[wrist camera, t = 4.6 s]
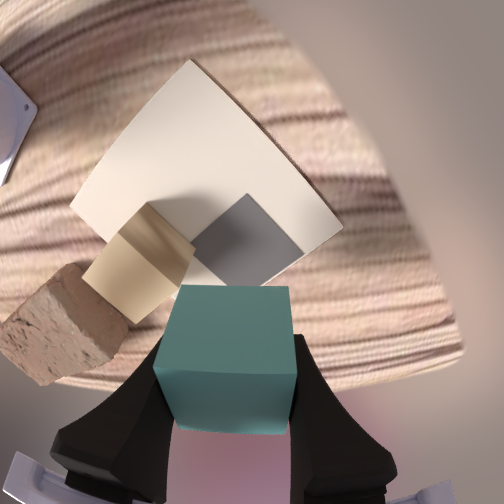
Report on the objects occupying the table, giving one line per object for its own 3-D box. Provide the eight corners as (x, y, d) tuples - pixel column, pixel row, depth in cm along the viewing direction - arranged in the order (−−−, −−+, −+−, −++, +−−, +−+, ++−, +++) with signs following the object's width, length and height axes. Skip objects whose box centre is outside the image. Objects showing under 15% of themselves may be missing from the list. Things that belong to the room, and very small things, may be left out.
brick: (72, 254, 21) (42, 289, 17) (135, 325, 25) (118, 365, 21) (8, 313, 26) (-11, 340, 22) (55, 361, 29) (40, 389, 25)
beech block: (111, 242, 20) (81, 277, 16) (146, 201, 18) (117, 232, 14) (156, 283, 21) (135, 324, 18) (195, 248, 20) (179, 288, 16)
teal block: (194, 353, 15) (178, 428, 11) (181, 284, 13) (152, 366, 9) (281, 356, 15) (285, 433, 11) (288, 286, 12) (297, 373, 9)
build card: (70, 205, 19) (68, 206, 18) (190, 59, 14) (189, 58, 14) (206, 323, 24) (205, 325, 23) (343, 226, 19) (344, 228, 19)
